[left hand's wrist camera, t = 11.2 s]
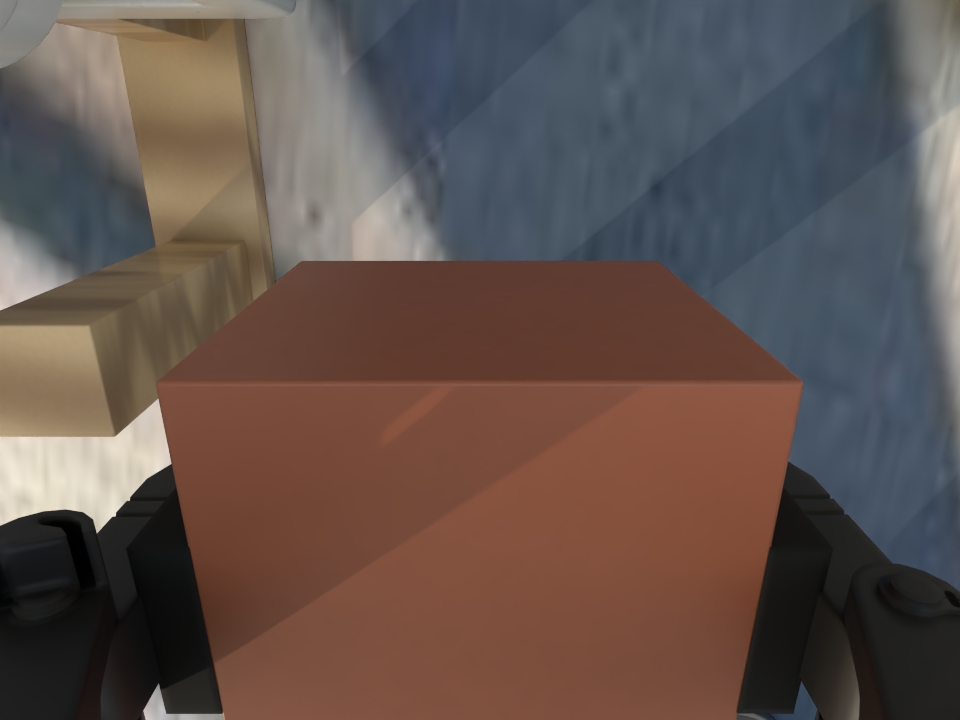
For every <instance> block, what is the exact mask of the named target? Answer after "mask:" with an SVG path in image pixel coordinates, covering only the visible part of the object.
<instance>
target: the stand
mask: <svg viewBox="0 0 960 720" xmlns="http://www.w3.org/2000/svg"><path fill="white" fill-rule="evenodd" d="M55 22H57V23H61V24H66V25H70V26H75V27H80V28H84V29H89V30H94V31H98V32H103V33H108V34H112V35H117V38H118V43H119V49H120V54H121V60H122V65H123V70H124V76H125V81H126V87H127V92H128V97H129V103H130V108H131V114H132V119H133V124H134V130H135V135H136V141H137V146H138V151H139V157H140V162H141V168H142V173H143V178H144V184H145V189H146V195H147V200H148V205H149V211H150V216H151V222H152V227H153V232H154V238H155V243H156V247H154V248H152V249H149V250H147V251H144V252H142V253H140V254H137V255H135V256H132V257H130V258H127V259H125V260H123V261H120V262H118V263H115V264H113V265H110V266H108V267H106V268H103V269H101V270H98V271H96V272H93V273H91V274H88V275H86V276H84V277H81V278H79V279H76V280H74V281H71V282H69V283H67V284H64V285H62V286H59V287H57V288H54V289H52V290H50V291H47V292H45V293H42V294H40V295H37V296H35V297H33V298H30V299H28V300H25V301H23V302H20V303H18V304H15V305H13V306H11V307H8V308H6V309H3V310H1V311H0V437H114V436H116V435H117V434H119V433H120V432H121V431H122V430H123V429H124V428H125V427H126V426H128V425H129V424H130V423H131V422H132V421H133V420H134V419H135V418H137V417H138V416H139V415H140V414H141V413H142V412H143V411H144V410H146V409H147V408H148V407H149V406H150V405H151V404H152V403H154V402H155V401H156V400H157V399H158V393H157V388H156V383H157V381H158V380H159V379H160V378H161V377H163V376H164V375H165V374H166V373H167V372H169V371H170V370H171V369H172V368H173V367H175V366H176V365H177V364H178V363H179V362H181V361H182V360H183V359H184V358H185V357H187V356H188V355H189V354H190V353H191V352H193V351H194V350H195V349H196V348H197V347H199V346H200V345H201V344H202V343H203V342H205V341H206V340H207V339H208V338H210V337H211V336H212V335H213V334H214V333H216V332H217V331H218V330H219V329H220V328H222V327H223V326H224V325H225V324H226V323H228V322H229V321H230V320H231V319H232V318H234V317H235V316H236V315H237V314H238V313H240V312H241V311H242V310H243V309H244V308H246V307H247V306H248V305H249V304H250V303H252V302H253V301H254V300H255V299H257V298H258V297H259V296H260V295H261V294H263V293H264V292H265V291H266V290H267V289H269V288H270V287H271V286H272V285H273V284H275V274H274V266H273V258H272V249H271V241H270V232H269V224H268V216H267V207H266V199H265V191H264V182H263V174H262V166H261V157H260V149H259V140H258V132H257V124H256V115H255V107H254V99H253V90H252V82H251V74H250V65H249V57H248V48H247V40H246V32H245V23H244V19H56V21H55Z"/></svg>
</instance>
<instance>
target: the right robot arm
mask: <svg viewBox="0 0 960 720" xmlns="http://www.w3.org/2000/svg"><path fill="white" fill-rule="evenodd" d="M295 6H296V0H0V69H1V68H4V67H6V66H8V65H11V64H13V63H15V62H17V61H18V60H20V59H22V58H24V57H25V56H26V55H28V54H29V53H30V52H32V51H33V50H34V49H35V48H36V47H37V46H38V45H39V44H40V43H41V42H42V41H43V39H44V38H45V37H46V36H47V34H48V33H49V32H50V30H51V28H52V26H53V25H54V23H55V21H56V19H266V18H280V17H284V16H287V15H289V14H291V13H292V12H293V11H294V9H295Z"/></svg>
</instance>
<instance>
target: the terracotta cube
mask: <svg viewBox="0 0 960 720" xmlns="http://www.w3.org/2000/svg"><path fill="white" fill-rule="evenodd" d="M156 388H157V393H158V398H159V403H160V408H161V413H162V418H163V423H164V428H165V433H166V438H167V443H168V448H169V453H170V458H171V463H172V467H173V472H174V477H175V482H176V487H177V492H178V497H179V502H180V507H181V512H182V517H183V522H184V527H185V532H186V537H187V542H188V547H190V552H191V557H192V562H193V567H194V572H195V577H196V582H197V587H198V592H199V597H200V602H201V607H202V612H203V617H204V622H205V627H206V632H207V637H208V642H209V647H210V652H211V657H212V662H213V666H214V671H215V676H216V681H217V686H218V691H219V696H220V701H221V706H222V711H223V713H222V715H223V720H736V718H737V709H738V704H739V699H740V694H741V689H742V684H743V679H744V674H745V669H746V664H747V659H748V654H749V649H750V644H751V639H752V634H753V629H754V624H755V619H756V614H757V609H758V604H759V599H760V594H761V589H762V584H763V579H764V574H765V569H766V564H767V559H768V554H769V549H770V547H771V544H772V539H773V534H774V529H775V524H776V519H777V514H778V509H779V504H780V499H781V494H782V489H783V484H784V479H785V474H786V469H787V464H788V459H789V454H790V449H791V444H792V439H793V434H794V429H795V424H796V419H797V414H798V410H799V405H800V400H801V395H802V390H803V382H802V380H801V379H799V378H798V377H797V376H796V375H795V374H793V373H792V372H791V371H790V370H789V369H787V368H786V367H785V366H784V365H783V364H781V363H780V362H779V361H778V360H777V359H775V358H774V357H773V356H772V355H770V354H769V353H768V352H767V351H766V350H764V349H763V348H762V347H761V346H760V345H758V344H757V343H756V342H755V341H754V340H752V339H751V338H750V337H749V336H748V335H746V334H745V333H744V332H743V331H742V330H740V329H739V328H738V327H737V326H736V325H734V324H733V323H732V322H731V321H730V320H728V319H727V318H726V317H725V316H723V315H722V314H721V313H720V312H719V311H717V310H716V309H715V308H714V307H713V306H711V305H710V304H709V303H708V302H707V301H705V300H704V299H703V298H702V297H701V296H699V295H698V294H697V293H696V292H695V291H693V290H692V289H691V288H690V287H689V286H687V285H686V284H685V283H684V282H683V281H681V280H680V279H679V278H678V277H676V276H675V275H674V274H673V273H672V272H670V271H669V270H668V269H667V268H666V267H664V266H663V265H662V264H661V263H660V262H658V261H302V262H300V263H299V264H298V265H296V266H295V267H294V268H293V269H291V270H290V271H289V272H288V273H287V274H285V275H284V276H283V277H282V278H281V279H279V280H278V281H277V282H276V283H275V284H273V285H272V286H271V287H270V288H269V289H267V290H266V291H265V292H264V293H263V294H261V295H260V296H259V297H258V298H257V299H255V300H254V301H253V302H252V303H250V304H249V305H248V306H247V307H246V308H244V309H243V310H242V311H241V312H240V313H238V314H237V315H236V316H235V317H234V318H232V319H231V320H230V321H229V322H228V323H226V324H225V325H224V326H223V327H222V328H220V329H219V330H218V331H217V332H216V333H214V334H213V335H212V336H211V337H210V338H208V339H207V340H206V341H205V342H203V343H202V344H201V345H200V346H199V347H197V348H196V349H195V350H194V351H193V352H191V353H190V354H189V355H188V356H187V357H185V358H184V359H183V360H182V361H181V362H179V363H178V364H177V365H176V366H175V367H173V368H172V369H171V370H170V371H169V372H167V373H166V374H165V375H164V376H163V377H161V378H160V379H159V380H158V381H157V383H156Z"/></svg>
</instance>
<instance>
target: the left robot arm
mask: <svg viewBox="0 0 960 720" xmlns="http://www.w3.org/2000/svg"><path fill="white" fill-rule="evenodd" d="M801 681H802V683H803V684H804V686H805V688H806V690H807V691H808V693H809V695H810V697H811V698H812V700H813V702H814V704H815V705H816V707H817V712H816V716H815V720H960V592H959V591H958V590H956V589H955V588H954V587H952V586H951V585H950V584H948V583H947V582H945V581H943V580H941V579H939V578H937V577H935V576H933V575H931V574H929V573H927V572H925V571H921V570H918V569H914V568H911V567H908V566H904V565H901V564H893V563H892V562H891V561H890V560H889V559H888V558H887V557H886V556H885V555H884V554H883V553H882V551H881V550H880V549H879V548H878V547H877V546H876V545H875V544H874V543H873V542H872V541H871V539H870V538H869V537H868V536H867V535H866V534H865V533H864V532H863V531H862V530H861V529H860V527H859V526H858V525H857V524H856V523H855V522H854V521H853V520H852V519H851V518H850V517H849V515H845V514H844V510H843V509H842V508H841V507H840V506H839V505H838V503H837V502H836V501H835V500H834V499H830V495H829V494H828V493H827V491H826V490H825V489H824V488H823V487H822V486H821V485H820V484H819V483H818V482H817V481H816V479H815V478H814V477H813V476H811V475H809V474H808V473H806V472H804V471H803V470H801V469H799V468H798V467H796V466H794V465H793V464H791V463H789V462H788V464H787V469H786V474H785V479H784V484H783V489H782V494H781V499H780V504H779V509H778V514H777V519H776V524H775V529H774V534H773V539H772V544H771V547H770V549H769V554H768V559H767V564H766V569H765V574H764V579H763V584H762V589H761V594H760V599H759V604H758V609H757V614H756V619H755V624H754V629H753V634H752V639H751V644H750V649H749V654H748V659H747V664H746V669H745V674H744V679H743V684H742V689H741V694H740V699H739V704H738V709H737V718H736V720H774V719H773V718H772V717H771V716H770V715H769V714H793V712H794V708H795V704H796V700H797V696H798V692H799V687H800V683H801ZM158 683H159V685H160V689H161V693H162V698H163V702H164V706H165V710H166V714H222V713H223V711H222V706H221V701H220V696H219V691H218V686H217V681H216V676H215V671H214V666H213V662H212V657H211V652H210V647H209V642H208V637H207V632H206V627H205V622H204V617H203V612H202V607H201V602H200V597H199V592H198V587H197V582H196V577H195V572H194V567H193V562H192V557H191V552H190V547H188V542H187V537H186V532H185V527H184V522H183V517H182V512H181V507H180V502H179V497H178V492H177V487H176V482H175V477H174V472H173V467H172V464H171V465H169V466H168V467H166V468H164V469H163V470H161V471H159V472H158V473H156V474H154V475H153V476H151V477H149V478H148V479H146V481H145V482H144V483H143V484H142V485H141V486H140V487H139V488H138V489H137V490H136V492H135V493H134V494H133V495H132V496H131V497H130V501H126V503H125V504H124V505H123V506H122V507H121V508H120V509H119V510H118V511H117V512H116V517H112V518H111V519H110V520H109V521H108V522H107V523H106V525H105V526H104V527H103V528H102V529H101V530H100V531H99V532H98V533H96V529H95V525H94V522H93V519H92V518H90V517H89V516H87V515H86V514H85V513H83V512H78V511H71V510H56V511H44V512H40V513H36V514H32V515H29V516H25V517H21V518H18V519H15V520H13V521H11V522H8V523H6V524H4V525H1V526H0V720H145V716H144V712H143V710H144V708H145V706H146V705H147V703H148V701H149V699H150V697H151V696H152V694H153V692H154V690H155V689H156V687H157V685H158Z"/></svg>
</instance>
